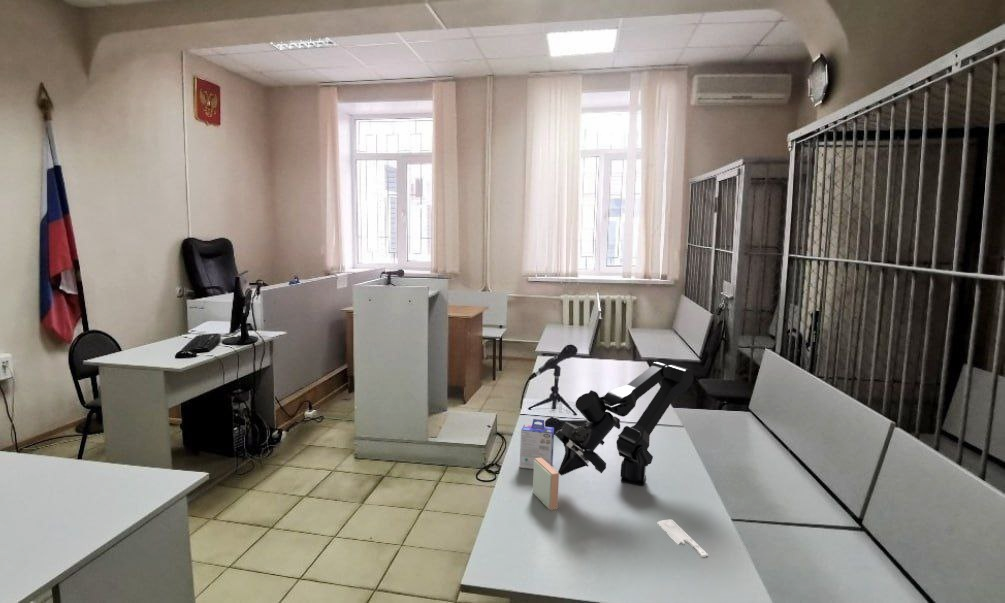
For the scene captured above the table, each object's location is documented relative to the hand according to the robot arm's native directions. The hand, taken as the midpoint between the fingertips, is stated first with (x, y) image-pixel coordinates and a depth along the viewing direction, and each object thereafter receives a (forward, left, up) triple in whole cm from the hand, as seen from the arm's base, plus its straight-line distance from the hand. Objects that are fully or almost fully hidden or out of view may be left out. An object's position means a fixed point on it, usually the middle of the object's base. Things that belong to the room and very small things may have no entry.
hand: (559, 474), depth 143 cm
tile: (+3, +3, -7) cm, 8 cm away
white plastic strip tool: (-32, +6, -7) cm, 33 cm away
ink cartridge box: (+12, -16, -7) cm, 21 cm away
